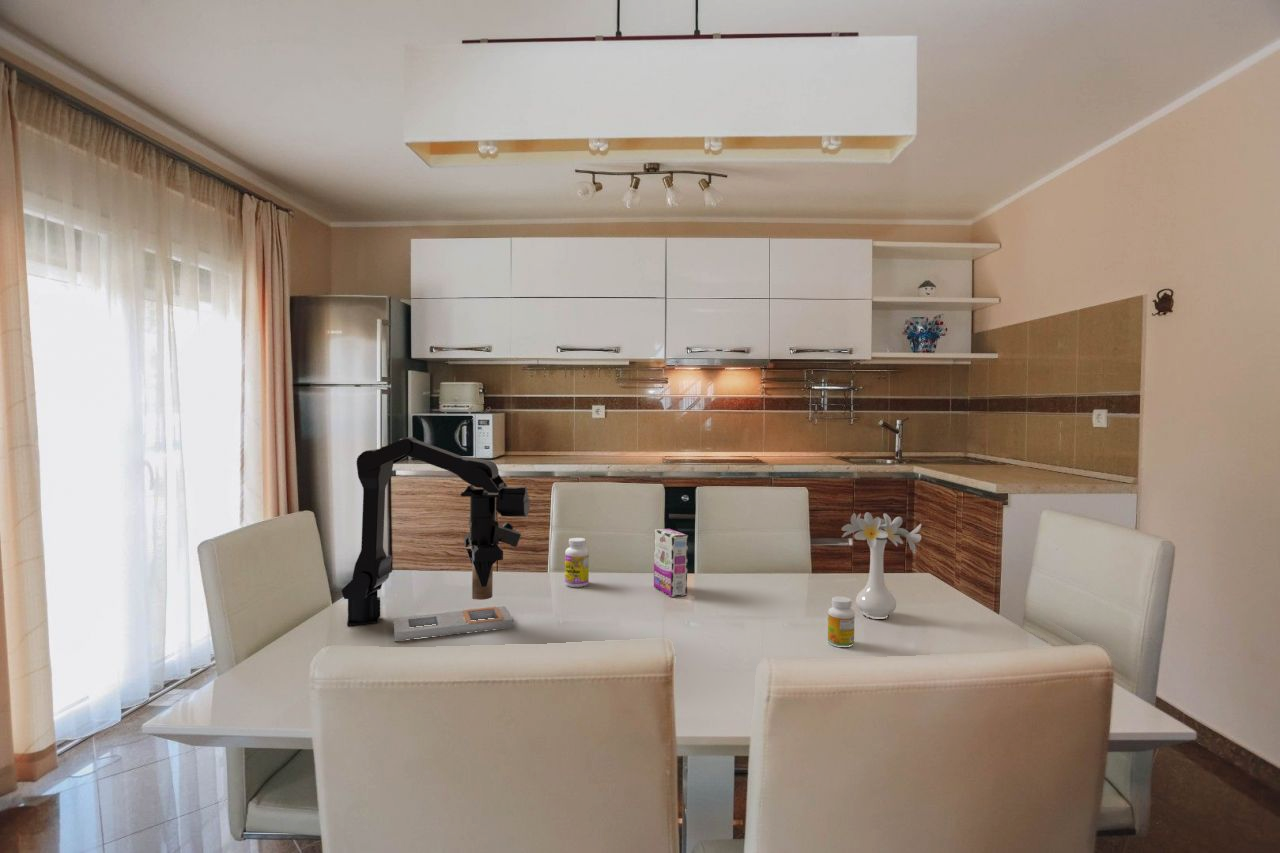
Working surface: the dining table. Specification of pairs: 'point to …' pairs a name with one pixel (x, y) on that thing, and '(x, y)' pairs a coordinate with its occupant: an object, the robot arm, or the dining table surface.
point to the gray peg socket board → (452, 623)
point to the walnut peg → (477, 589)
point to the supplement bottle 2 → (841, 622)
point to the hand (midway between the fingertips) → (482, 583)
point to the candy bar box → (670, 562)
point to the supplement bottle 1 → (576, 563)
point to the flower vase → (878, 559)
